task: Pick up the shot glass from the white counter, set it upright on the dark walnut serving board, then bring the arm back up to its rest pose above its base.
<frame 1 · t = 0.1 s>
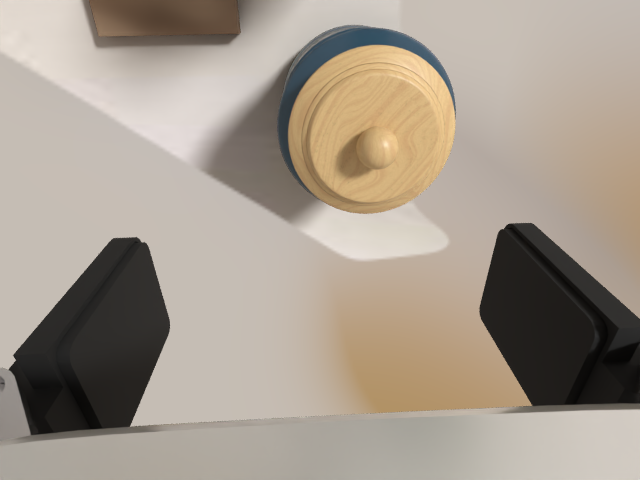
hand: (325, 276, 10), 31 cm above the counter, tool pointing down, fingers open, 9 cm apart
canister: (348, 99, 38), on the counter
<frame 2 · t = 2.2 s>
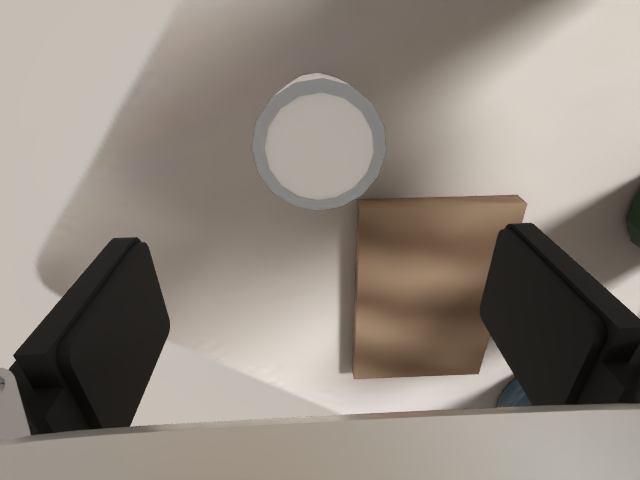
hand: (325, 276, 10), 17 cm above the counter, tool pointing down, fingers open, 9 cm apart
shot glass: (316, 117, 26), on the counter
walnut board: (423, 292, 33), on the counter
canister: (552, 394, 41), on the counter
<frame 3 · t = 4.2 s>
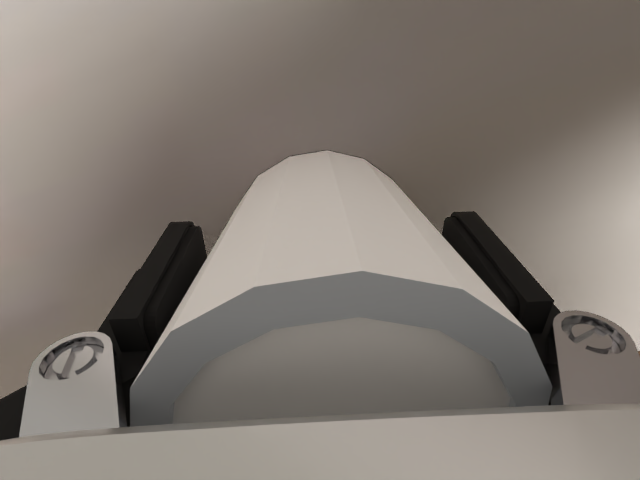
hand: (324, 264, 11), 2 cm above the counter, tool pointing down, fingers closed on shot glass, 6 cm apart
shot glass: (322, 233, 12), on the counter, touching gripper
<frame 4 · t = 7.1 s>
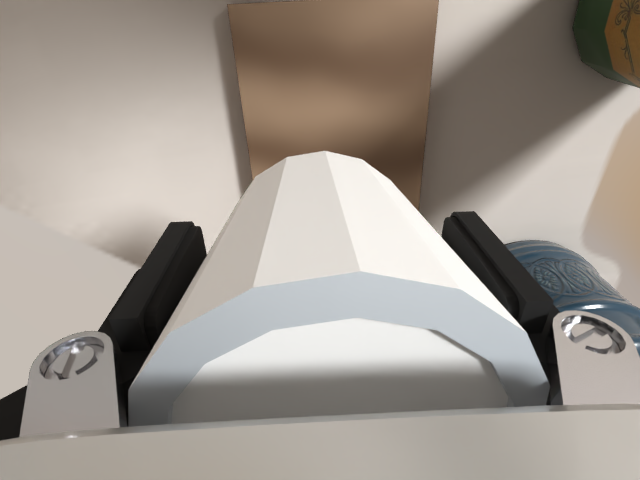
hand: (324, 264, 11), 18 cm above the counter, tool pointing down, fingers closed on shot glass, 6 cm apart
shot glass: (320, 233, 12), point 16 cm above the counter, touching gripper
walnut board: (335, 147, 27), on the counter
canister: (511, 295, 36), on the counter
bottle: (637, 2, 24), on the counter
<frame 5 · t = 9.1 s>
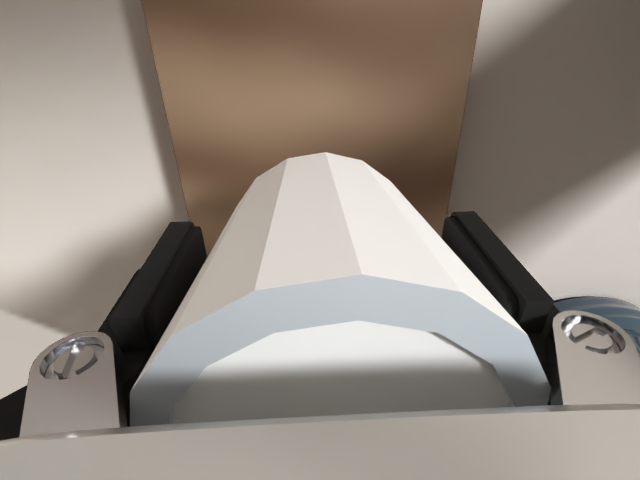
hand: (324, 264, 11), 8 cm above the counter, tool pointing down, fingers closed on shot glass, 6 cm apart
shot glass: (320, 234, 12), point 7 cm above the counter, touching gripper
walnut board: (317, 161, 18), on the counter
canister: (554, 363, 26), on the counter
when the fingers open (4 cm above the counter, at t = 10.5 s): shot glass stays where it is, resting on walnut board.
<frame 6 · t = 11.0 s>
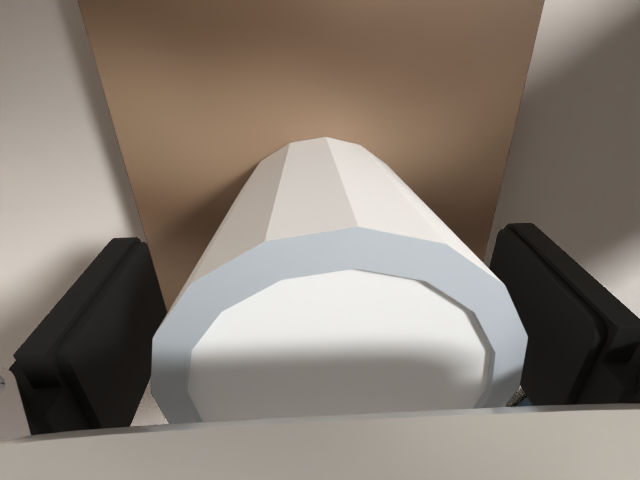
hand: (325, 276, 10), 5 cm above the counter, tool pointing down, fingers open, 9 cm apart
shot glass: (321, 216, 13), point 1 cm above the counter, touching walnut board
walnut board: (318, 205, 14), on the counter
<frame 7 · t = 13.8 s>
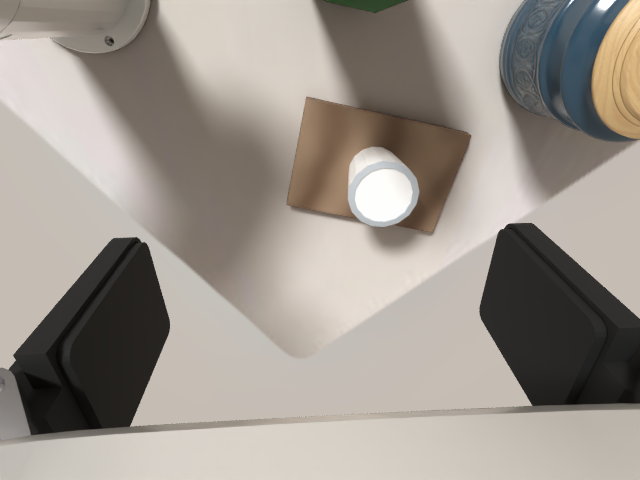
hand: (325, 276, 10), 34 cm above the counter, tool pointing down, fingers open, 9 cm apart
shot glass: (373, 170, 43), point 1 cm above the counter, touching walnut board
walnut board: (373, 167, 44), on the counter
canister: (560, 45, 38), on the counter
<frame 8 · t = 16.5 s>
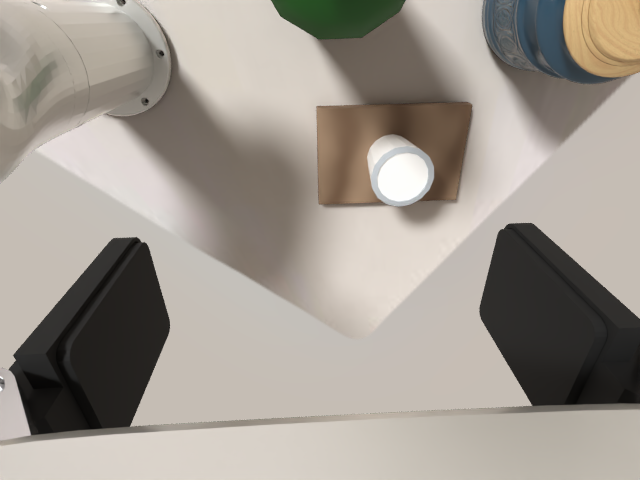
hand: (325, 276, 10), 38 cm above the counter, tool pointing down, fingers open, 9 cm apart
shot glass: (389, 156, 47), point 1 cm above the counter, touching walnut board
walnut board: (388, 153, 48), on the counter
canister: (538, 2, 41), on the counter
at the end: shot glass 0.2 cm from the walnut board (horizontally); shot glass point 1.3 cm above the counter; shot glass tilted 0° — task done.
